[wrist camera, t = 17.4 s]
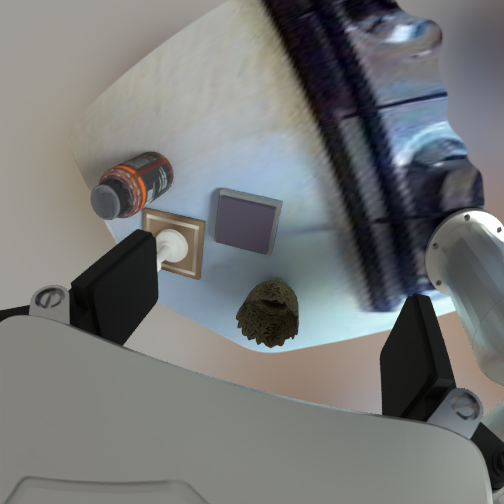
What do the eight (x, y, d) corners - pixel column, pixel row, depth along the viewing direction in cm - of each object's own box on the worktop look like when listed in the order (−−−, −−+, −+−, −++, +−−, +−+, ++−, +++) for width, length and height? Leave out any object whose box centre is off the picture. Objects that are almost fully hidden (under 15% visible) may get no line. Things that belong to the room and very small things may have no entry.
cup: (273, 317, 47) (262, 355, 40) (240, 281, 45) (223, 317, 38) (315, 294, 43) (310, 333, 37) (281, 254, 42) (270, 289, 35)
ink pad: (282, 201, 38) (280, 206, 37) (271, 251, 42) (269, 259, 40) (222, 187, 39) (217, 192, 38) (216, 237, 43) (211, 244, 41)
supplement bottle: (130, 158, 40) (75, 183, 30) (166, 145, 38) (114, 167, 28) (144, 198, 42) (95, 232, 33) (180, 188, 41) (135, 223, 31)
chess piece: (170, 221, 43) (132, 257, 34) (195, 248, 44) (163, 289, 35) (150, 241, 45) (112, 277, 36) (173, 266, 46) (140, 307, 37)
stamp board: (205, 221, 42) (203, 223, 41) (200, 277, 46) (198, 280, 46) (145, 207, 43) (142, 209, 42) (145, 262, 48) (143, 264, 47)
